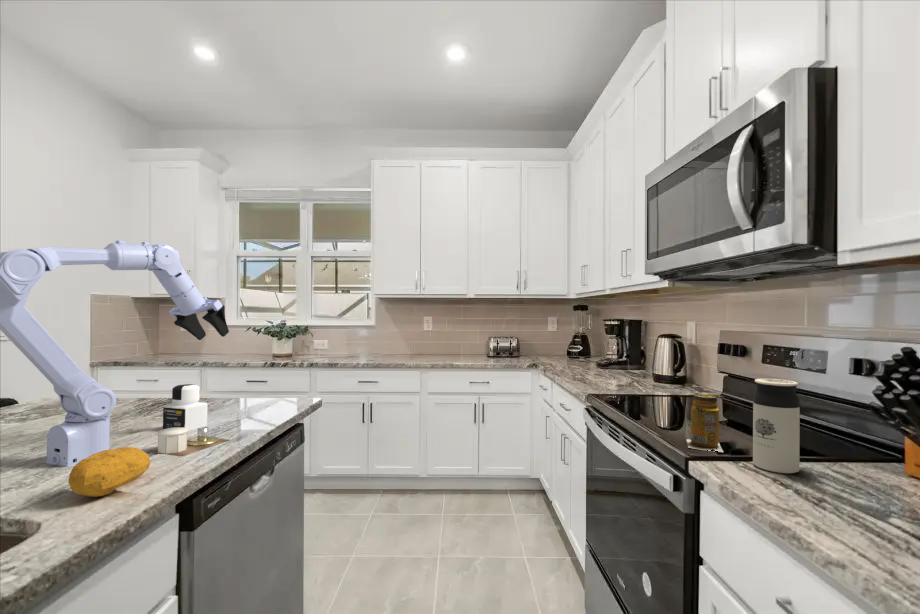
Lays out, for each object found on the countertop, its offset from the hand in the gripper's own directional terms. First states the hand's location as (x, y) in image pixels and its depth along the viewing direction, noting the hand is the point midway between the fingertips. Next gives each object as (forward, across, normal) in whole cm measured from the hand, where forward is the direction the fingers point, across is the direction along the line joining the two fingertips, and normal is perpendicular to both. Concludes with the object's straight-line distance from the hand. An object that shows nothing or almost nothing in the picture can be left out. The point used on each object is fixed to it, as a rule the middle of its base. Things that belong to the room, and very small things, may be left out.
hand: (214, 335), depth 117 cm
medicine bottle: (+19, +12, +14) cm, 26 cm away
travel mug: (+48, -122, +6) cm, 132 cm away
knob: (+15, -4, +21) cm, 26 cm away
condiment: (+54, -111, -6) cm, 124 cm away
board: (+14, -4, +25) cm, 28 cm away
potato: (+2, -10, +43) cm, 44 cm away
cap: (+11, -3, +27) cm, 29 cm away
